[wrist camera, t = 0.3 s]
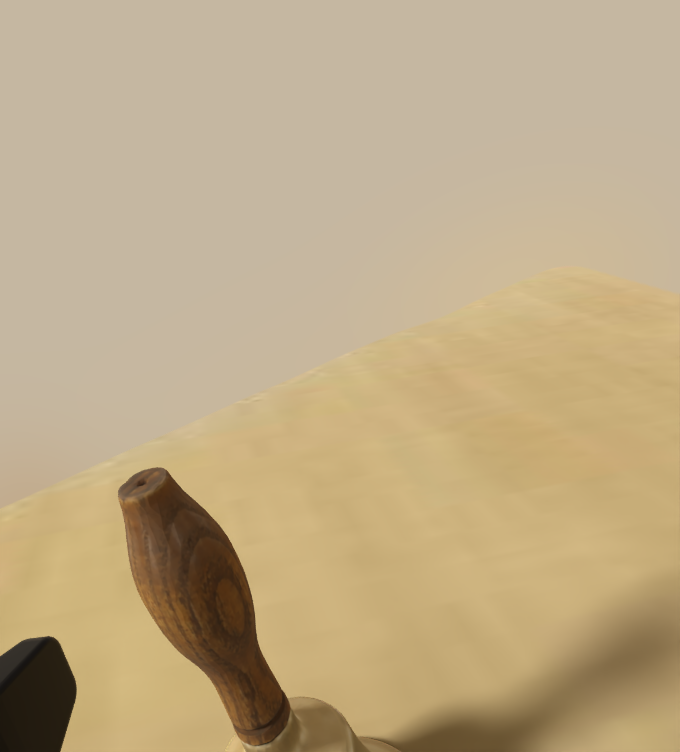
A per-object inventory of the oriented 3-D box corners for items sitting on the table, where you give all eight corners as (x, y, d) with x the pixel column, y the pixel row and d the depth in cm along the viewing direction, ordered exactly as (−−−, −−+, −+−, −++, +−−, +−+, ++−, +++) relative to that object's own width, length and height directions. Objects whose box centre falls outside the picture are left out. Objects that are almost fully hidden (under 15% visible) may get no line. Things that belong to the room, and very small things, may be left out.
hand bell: (424, 715, 26) (290, 364, 19) (487, 973, 18) (301, 535, 12) (226, 776, 26) (31, 450, 20) (208, 1054, 19) (-121, 671, 12)
